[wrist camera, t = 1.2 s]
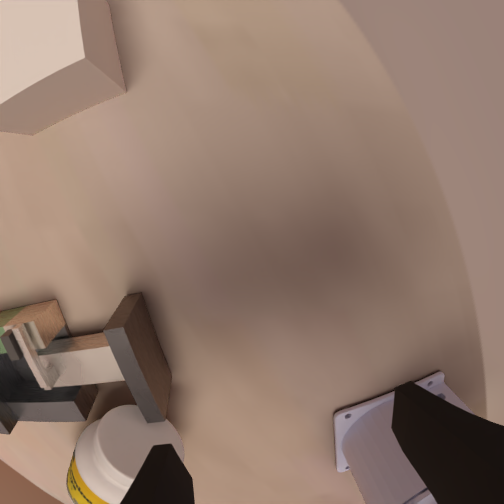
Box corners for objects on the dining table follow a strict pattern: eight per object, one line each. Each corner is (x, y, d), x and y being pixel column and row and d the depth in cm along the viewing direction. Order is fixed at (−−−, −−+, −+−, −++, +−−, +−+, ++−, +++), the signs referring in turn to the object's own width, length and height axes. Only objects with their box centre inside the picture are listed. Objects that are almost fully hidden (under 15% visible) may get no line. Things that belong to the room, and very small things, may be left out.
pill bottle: (62, 452, 18) (80, 381, 14) (135, 461, 21) (184, 397, 17) (70, 524, 13) (87, 493, 9) (150, 527, 16) (212, 493, 12)
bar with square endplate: (137, 280, 16) (117, 312, 12) (172, 376, 18) (165, 421, 14) (34, 303, 16) (0, 333, 12) (73, 388, 18) (53, 427, 14)
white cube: (127, 93, 14) (85, 58, 8) (33, 136, 14) (-34, 129, 8) (109, 5, 13) (74, -48, 7) (22, 49, 12) (-35, 20, 6)
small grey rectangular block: (16, 328, 13) (8, 336, 12) (26, 351, 13) (19, 359, 12) (7, 329, 13) (-1, 337, 12) (18, 352, 13) (11, 360, 12)
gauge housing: (56, 299, 16) (20, 334, 12) (98, 391, 18) (79, 438, 14) (-18, 315, 16) (-54, 344, 11) (23, 396, 18) (-2, 433, 13)
